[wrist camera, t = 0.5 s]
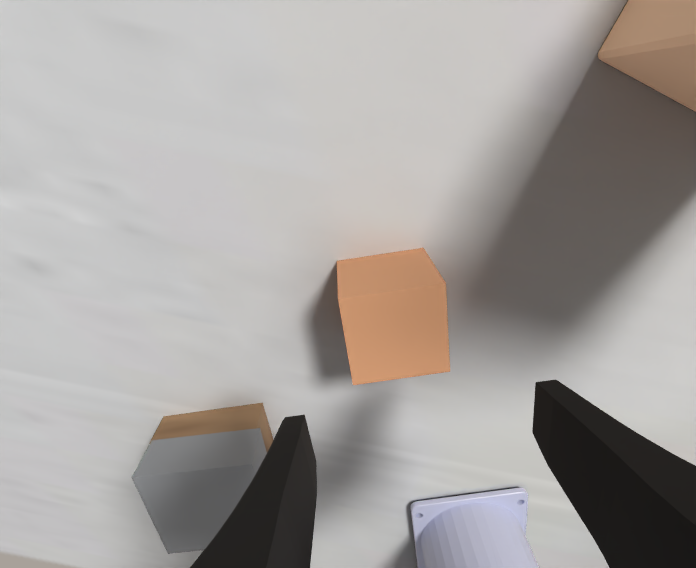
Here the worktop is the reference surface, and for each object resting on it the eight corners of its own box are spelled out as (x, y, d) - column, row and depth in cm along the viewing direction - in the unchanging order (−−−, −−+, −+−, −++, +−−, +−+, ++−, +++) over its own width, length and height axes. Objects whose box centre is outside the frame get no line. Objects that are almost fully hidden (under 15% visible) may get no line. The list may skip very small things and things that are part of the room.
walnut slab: (284, 469, 26) (279, 502, 24) (195, 481, 27) (183, 515, 24) (263, 398, 24) (256, 428, 22) (165, 412, 24) (149, 443, 22)
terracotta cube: (428, 322, 22) (450, 371, 18) (349, 333, 22) (353, 385, 18) (423, 247, 20) (445, 283, 16) (336, 260, 20) (337, 299, 16)
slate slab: (280, 502, 24) (274, 542, 22) (182, 513, 24) (167, 553, 22) (260, 428, 22) (251, 464, 20) (151, 440, 22) (131, 477, 20)
